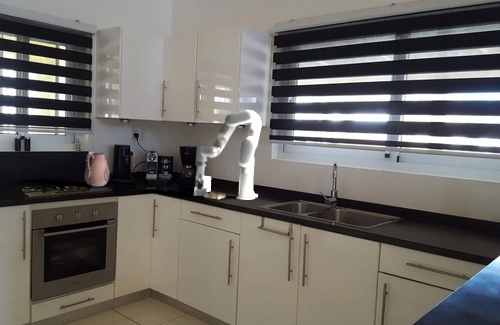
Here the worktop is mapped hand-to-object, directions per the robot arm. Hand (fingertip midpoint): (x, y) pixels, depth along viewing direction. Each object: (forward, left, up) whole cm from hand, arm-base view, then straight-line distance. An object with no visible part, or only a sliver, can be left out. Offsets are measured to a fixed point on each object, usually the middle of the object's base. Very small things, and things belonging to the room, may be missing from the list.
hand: (199, 188), depth 286 cm
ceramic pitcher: (+81, +17, -5) cm, 83 cm away
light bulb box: (+9, -18, -5) cm, 21 cm away
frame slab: (-1, 0, -5) cm, 5 cm away
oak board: (-12, 0, -5) cm, 13 cm away
